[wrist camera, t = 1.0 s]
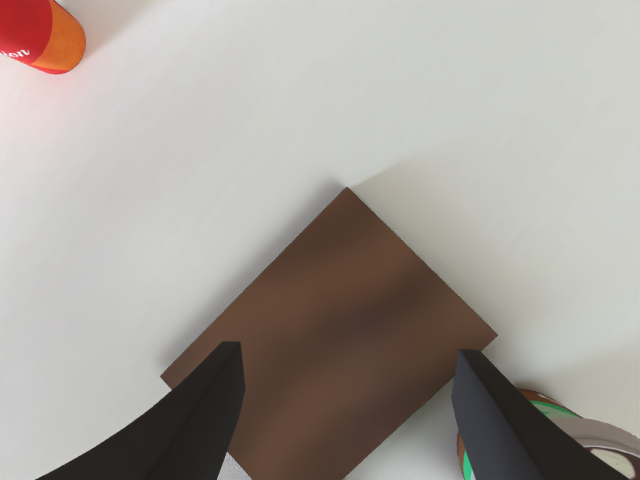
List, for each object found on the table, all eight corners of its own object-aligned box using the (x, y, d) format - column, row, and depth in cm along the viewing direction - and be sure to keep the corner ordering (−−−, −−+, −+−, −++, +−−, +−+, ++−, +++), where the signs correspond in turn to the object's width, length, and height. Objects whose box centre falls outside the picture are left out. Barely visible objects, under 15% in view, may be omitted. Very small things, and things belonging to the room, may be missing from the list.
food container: (522, 338, 30) (597, 385, 20) (582, 398, 30) (688, 476, 20) (406, 442, 31) (425, 535, 22) (462, 501, 31) (507, 625, 21)
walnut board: (492, 330, 31) (498, 335, 29) (296, 512, 33) (293, 525, 31) (347, 188, 32) (346, 186, 31) (168, 370, 34) (159, 376, 32)
